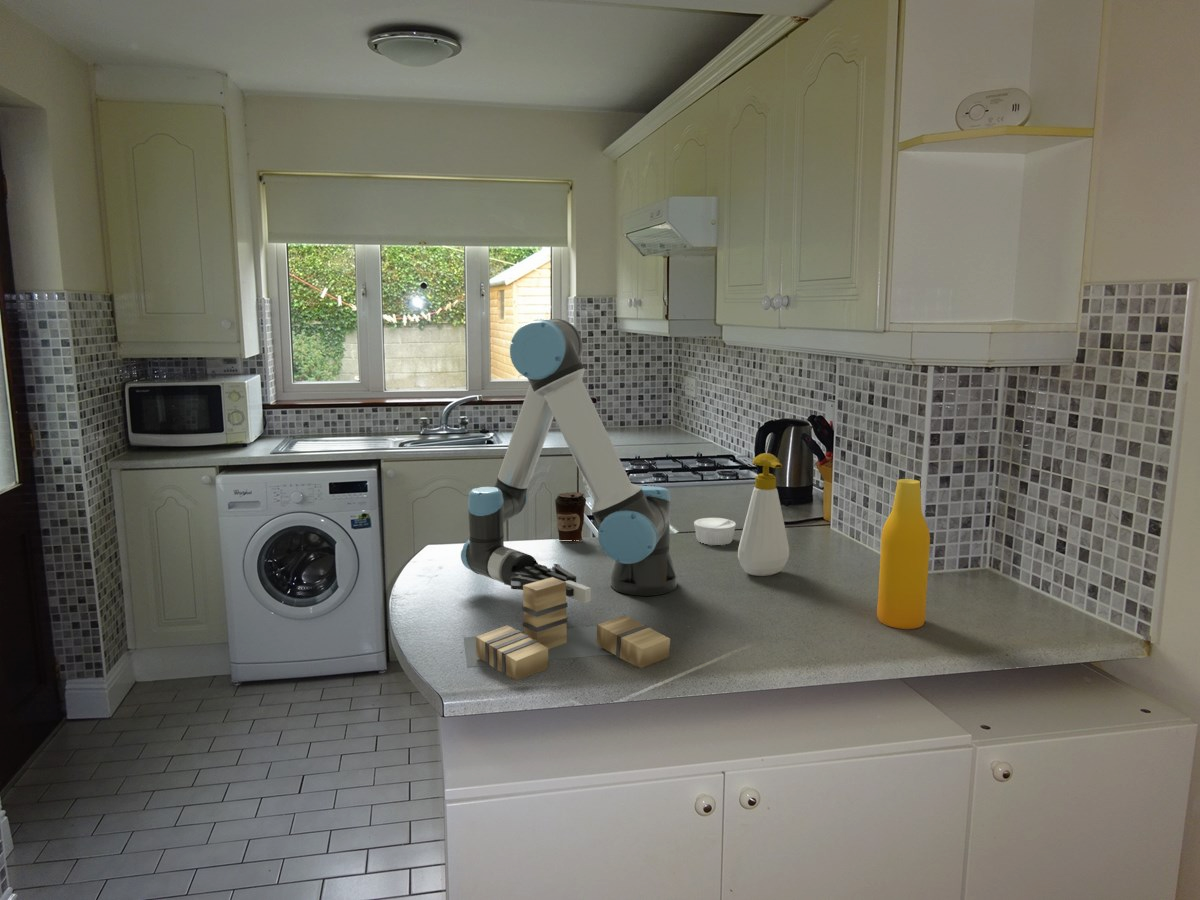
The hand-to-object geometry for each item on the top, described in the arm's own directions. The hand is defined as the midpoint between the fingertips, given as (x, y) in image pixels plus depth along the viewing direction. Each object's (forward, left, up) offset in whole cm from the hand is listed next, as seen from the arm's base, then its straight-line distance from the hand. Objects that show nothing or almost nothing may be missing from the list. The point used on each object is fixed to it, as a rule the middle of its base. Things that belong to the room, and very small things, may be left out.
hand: (587, 595), depth 164 cm
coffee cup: (-8, -66, -8) cm, 67 cm away
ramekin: (-46, -57, -8) cm, 74 cm away
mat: (+9, +4, -8) cm, 13 cm away
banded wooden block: (-3, +6, -5) cm, 8 cm away
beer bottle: (-63, +7, -8) cm, 64 cm away
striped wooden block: (+19, +6, -5) cm, 21 cm away
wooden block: (+9, +4, -8) cm, 12 cm away
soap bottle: (-48, -27, -8) cm, 56 cm away
